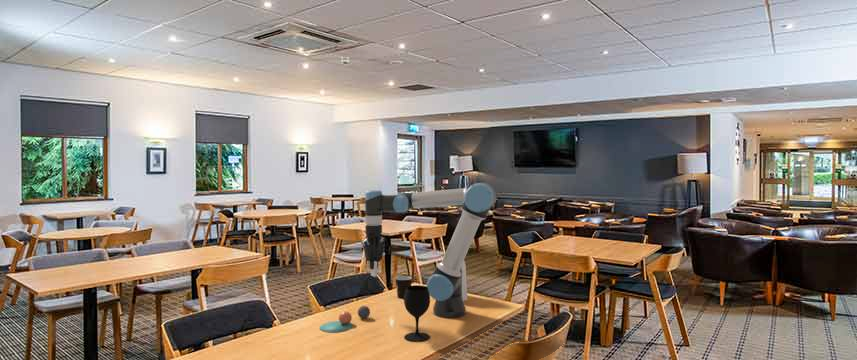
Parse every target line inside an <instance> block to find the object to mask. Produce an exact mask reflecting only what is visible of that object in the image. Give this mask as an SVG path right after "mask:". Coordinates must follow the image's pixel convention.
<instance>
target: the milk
mask: <svg viewBox="0 0 857 360" xmlns="http://www.w3.org/2000/svg"><path fill="white" fill-rule="evenodd" d="M442 260H443V258H442V259H441V261H442ZM461 266H462V298H463V302H465V301H464V300H467V301H468V290H467V289H468V286H467V285H468V284H467V269H466V267H467V266H466V262H465V260H464V261H463V263H462V265H461Z"/></svg>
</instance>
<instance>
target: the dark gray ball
mask: <svg viewBox="0 0 857 360" xmlns="http://www.w3.org/2000/svg"><path fill="white" fill-rule="evenodd" d="M370 313H371V310H370V308H369V307H368V306H367V305H362V306H360V307H359V308H358V310H357V315H358V317H359V318H360V319H363V320H365V319H368V317H369V316H370Z"/></svg>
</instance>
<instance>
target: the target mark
mask: <svg viewBox="0 0 857 360" xmlns="http://www.w3.org/2000/svg"><path fill="white" fill-rule="evenodd" d="M353 326H354V325H353V323H351V322H350V323H349V324H346V325H344V324H341V323H340V321H339V320H336V321H329V322H325V323H322V324H321V325H320V326H319V331H322V332H325V333H331V334H332V333H334V334H335V333H342V332H346V331H347V332H348V331H349V330H351V329H352V328H353Z"/></svg>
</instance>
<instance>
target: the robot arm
mask: <svg viewBox="0 0 857 360" xmlns="http://www.w3.org/2000/svg"><path fill="white" fill-rule="evenodd" d="M497 198H498V192H497V190H496V187H495V186H493V185H492V184H491V183H489V182H485V181H483V182H477V183H473V184H471V185H466V186H465V187H464V188H453V189H452V188H450V189H440V190H428V191H416V192H404V193H403V192H402V193H400V194H399V193H398V194H391V195H389V194H383V192H382V190H378V189H377V190H375V189H374V190H367V191H365V199H364V204H365V206H364V208H365V218H364V220H365V234H366V235H365V239H364V240H361V241H360V243H361V244H362V247H363V252H364V256H365V261H366V262H368V263H369V269H370V276H371V277H374V278H376V277H378V269H379V263H380V262H381V260H382V259H383V254H384V249H385V243H386V241H387V238H385V237H383V235H382V233H383V225H382V224H383V213H385V212H386V213H387V212H388V213H405V212H407V211H408V210H412V209H425V208H427V209H428V208H439V207H440V208H441V207H451V206H454V207H455V206H461V207H460V209H461V212H462V213H461V216H460V218H459V220H458V223H457V224H456V227H455V229H454V232H453V234H452V237H451V239H450V241H449V244H448V246H447V248H446V250H445V253H444V256H443V257H442V259H443V260H442V259H441V261H440V262H438V263H436V264H435V267H434V270H433V272H432V275H431V276H430V277H429V278H428V279H427V282H426V287H428V290H429V294H430V298H432V299H433V300H435V302H434V304H433V309H432V311H433V314H434V315H435V316H438V317H439V318H440V317H442V318H449V319H450V318H460V317H463V316H465V315H466V314H467V312H466V311H467V310H466V309H467V308H466V306H465V303H464V302H465V301H463V298H462V266H461V265H462V263H463V261H465V258H466V256H467V253H468V252H469V249H470V247H471V246H472V242H473V240H474V238H475V236H476V233H477V231H478V229H479V226H480V224H481V222H482V221H484V220H486V219H487V217H488V214H489V212H490V210H491V208H492V206H493V205H494V204H495V203H496V201H497Z"/></svg>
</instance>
